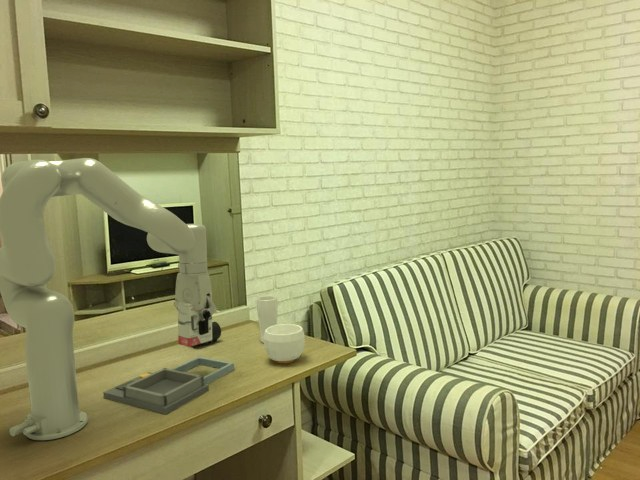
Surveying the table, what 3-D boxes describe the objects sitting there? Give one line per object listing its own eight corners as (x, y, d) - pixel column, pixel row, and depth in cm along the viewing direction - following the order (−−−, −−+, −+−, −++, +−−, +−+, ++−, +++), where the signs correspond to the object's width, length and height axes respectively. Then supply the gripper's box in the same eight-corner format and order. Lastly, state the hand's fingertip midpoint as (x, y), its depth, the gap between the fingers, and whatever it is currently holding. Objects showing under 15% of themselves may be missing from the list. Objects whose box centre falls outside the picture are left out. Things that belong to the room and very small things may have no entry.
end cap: (198, 350, 167) (197, 329, 167) (185, 346, 172) (183, 326, 171) (222, 342, 175) (221, 322, 174) (208, 338, 179) (207, 319, 179)
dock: (166, 414, 121) (164, 398, 121) (103, 397, 132) (102, 382, 131) (208, 390, 134) (207, 376, 134) (148, 377, 145) (147, 363, 144)
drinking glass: (254, 341, 174) (252, 298, 172) (270, 336, 178) (268, 294, 177) (266, 345, 169) (264, 301, 167) (282, 341, 173) (281, 297, 172)
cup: (256, 361, 155) (254, 330, 154) (286, 350, 164) (285, 321, 163) (283, 370, 146) (282, 338, 145) (314, 359, 155) (312, 328, 154)
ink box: (189, 347, 139) (187, 304, 138) (177, 344, 142) (176, 302, 141) (214, 340, 146) (212, 299, 145) (202, 337, 149) (201, 297, 148)
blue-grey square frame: (202, 386, 137) (202, 379, 137) (165, 378, 143) (165, 371, 143) (234, 369, 149) (234, 363, 148) (199, 362, 155) (198, 356, 155)
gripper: (160, 268, 143) (163, 332, 145) (208, 272, 135) (210, 339, 137) (180, 264, 150) (182, 325, 151) (226, 268, 141) (228, 333, 143)
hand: (195, 331), depth 144 cm, fingers closed on ink box, 5 cm apart
